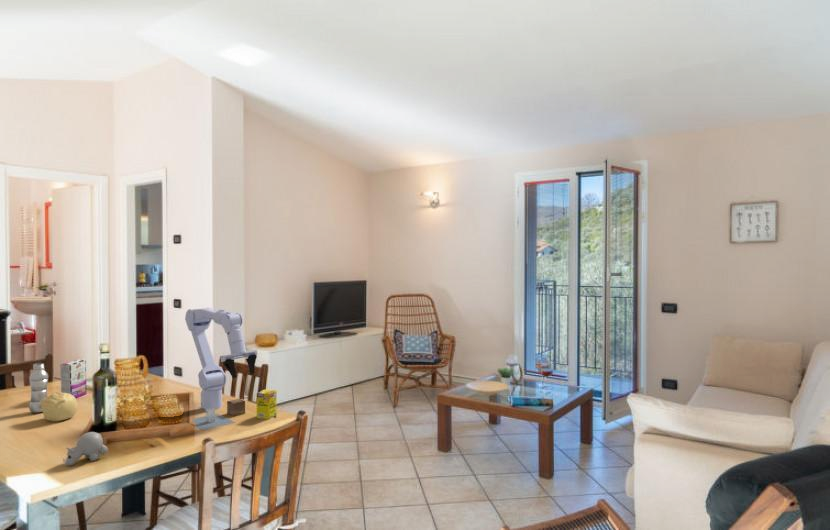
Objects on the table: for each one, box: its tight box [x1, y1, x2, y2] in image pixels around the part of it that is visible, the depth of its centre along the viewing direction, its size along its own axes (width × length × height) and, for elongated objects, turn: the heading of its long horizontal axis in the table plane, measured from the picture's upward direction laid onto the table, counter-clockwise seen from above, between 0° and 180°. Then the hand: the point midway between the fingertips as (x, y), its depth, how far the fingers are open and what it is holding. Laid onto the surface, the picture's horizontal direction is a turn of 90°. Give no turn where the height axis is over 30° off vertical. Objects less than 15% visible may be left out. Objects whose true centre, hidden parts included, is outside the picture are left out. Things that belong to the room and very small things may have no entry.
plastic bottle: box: [28, 362, 49, 414], centre depth 220 cm, size 6×7×20 cm
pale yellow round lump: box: [40, 391, 79, 423], centre depth 211 cm, size 11×12×11 cm
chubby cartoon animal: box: [62, 431, 109, 467], centre depth 168 cm, size 7×12×8 cm, turn 143°
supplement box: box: [256, 389, 278, 420], centre depth 212 cm, size 6×6×11 cm
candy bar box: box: [59, 358, 88, 399], centre depth 244 cm, size 11×5×16 cm, turn 179°
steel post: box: [205, 407, 216, 423], centre depth 205 cm, size 3×3×5 cm
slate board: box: [193, 413, 236, 431], centre depth 205 cm, size 16×13×1 cm
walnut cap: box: [226, 398, 246, 417], centre depth 216 cm, size 5×5×6 cm
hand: (243, 376), depth 210 cm, fingers open, 7 cm apart
